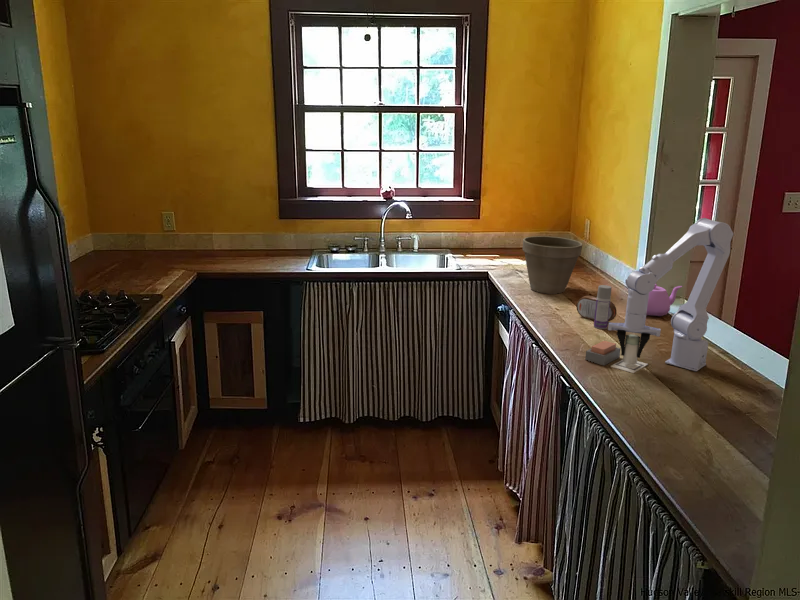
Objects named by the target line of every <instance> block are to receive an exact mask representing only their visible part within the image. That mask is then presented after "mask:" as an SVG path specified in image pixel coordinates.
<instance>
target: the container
mask: <svg viewBox="0 0 800 600" xmlns="http://www.w3.org/2000/svg"><path fill="white" fill-rule="evenodd" d="M612 288H613V287H612V286H611V285H606V284H601V285H598V288H597V295H596V297H597V301H596V310H595V319H594V320H593V328H595V329H596V330H597V329H599V330H608V325H609V322H608V318H609V309H610V301H611V299H612V297H611V296H612Z"/></svg>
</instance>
